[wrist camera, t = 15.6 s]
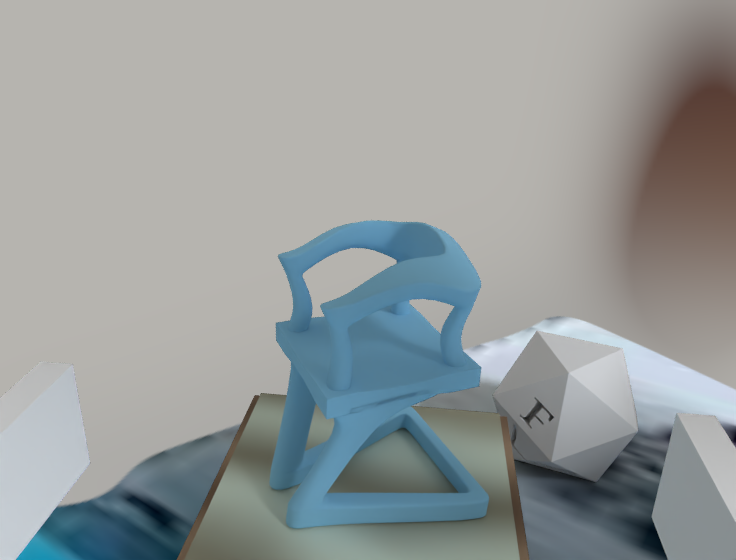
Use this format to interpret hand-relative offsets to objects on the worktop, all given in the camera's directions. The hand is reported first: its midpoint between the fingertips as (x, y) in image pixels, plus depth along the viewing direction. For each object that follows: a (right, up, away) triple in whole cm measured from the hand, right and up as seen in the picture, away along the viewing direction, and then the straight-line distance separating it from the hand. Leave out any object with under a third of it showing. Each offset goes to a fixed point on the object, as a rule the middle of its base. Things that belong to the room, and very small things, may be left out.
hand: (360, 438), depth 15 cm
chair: (0, -6, +16) cm, 17 cm away
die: (+12, -8, +28) cm, 31 cm away
